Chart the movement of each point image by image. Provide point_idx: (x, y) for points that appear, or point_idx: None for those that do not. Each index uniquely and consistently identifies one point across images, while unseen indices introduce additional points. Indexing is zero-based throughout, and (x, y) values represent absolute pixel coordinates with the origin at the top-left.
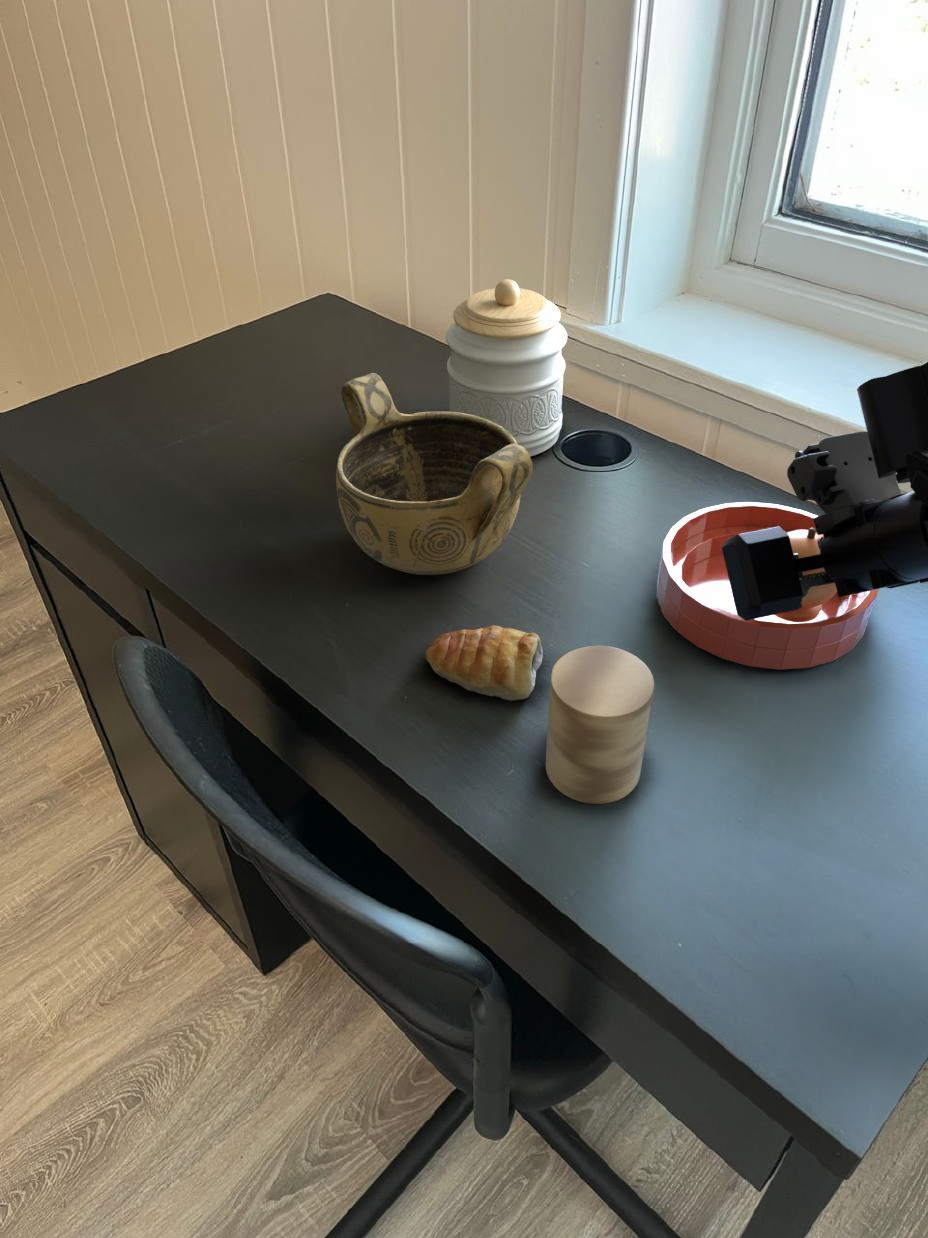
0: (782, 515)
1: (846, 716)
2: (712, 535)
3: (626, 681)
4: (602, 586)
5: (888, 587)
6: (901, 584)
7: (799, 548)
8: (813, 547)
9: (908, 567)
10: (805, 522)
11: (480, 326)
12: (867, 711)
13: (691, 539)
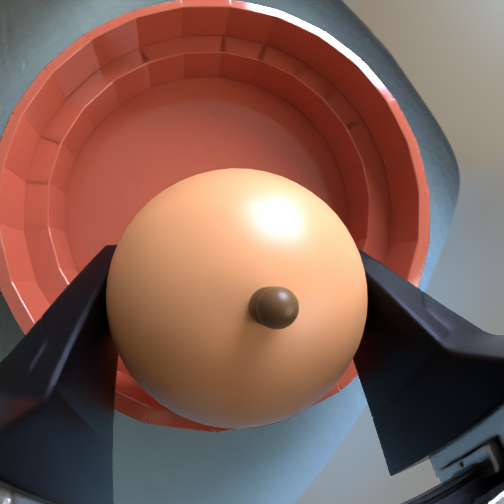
0: (326, 53)
1: (222, 471)
2: (189, 47)
3: None
4: (12, 110)
5: (388, 469)
6: (416, 464)
7: (184, 351)
8: (245, 372)
9: None
10: (358, 83)
11: None
12: (256, 467)
13: (146, 48)
